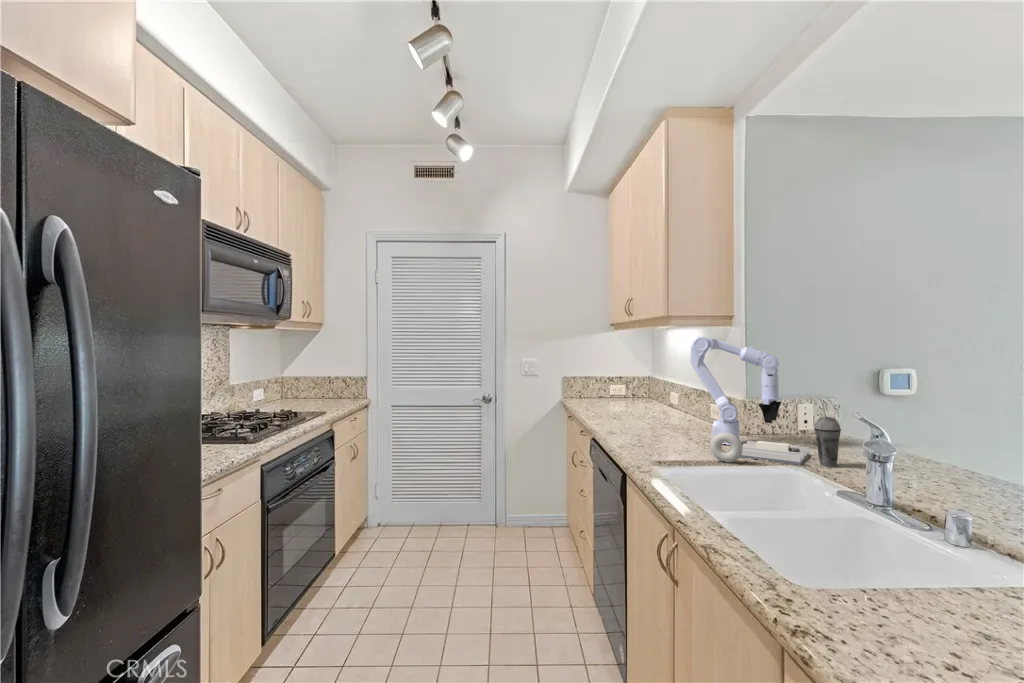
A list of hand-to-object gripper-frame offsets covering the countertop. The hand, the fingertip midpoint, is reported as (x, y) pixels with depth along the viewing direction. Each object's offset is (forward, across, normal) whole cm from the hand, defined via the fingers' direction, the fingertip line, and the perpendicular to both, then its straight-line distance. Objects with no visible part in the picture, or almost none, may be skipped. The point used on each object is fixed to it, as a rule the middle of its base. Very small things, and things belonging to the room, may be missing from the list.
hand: (770, 421), depth 187 cm
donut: (+10, -36, +6) cm, 38 cm away
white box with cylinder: (+8, -18, -6) cm, 21 cm away
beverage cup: (+10, -22, -21) cm, 32 cm away
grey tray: (+9, -18, -4) cm, 21 cm away
